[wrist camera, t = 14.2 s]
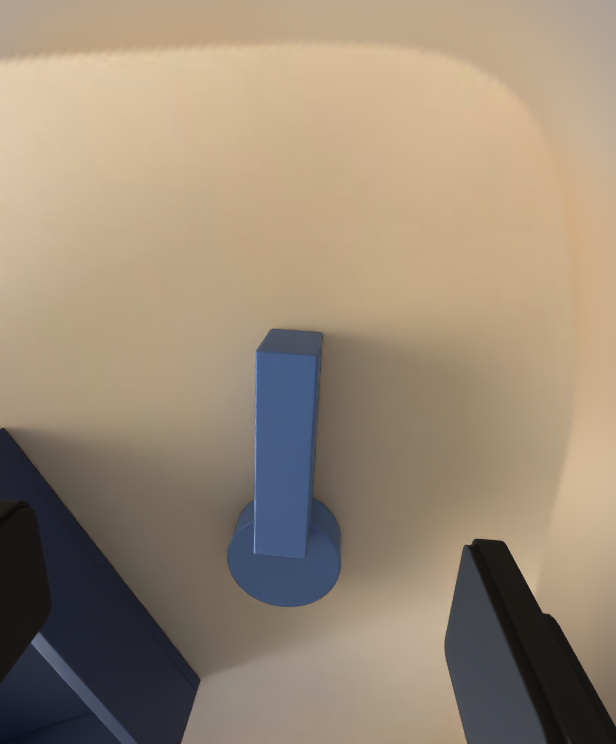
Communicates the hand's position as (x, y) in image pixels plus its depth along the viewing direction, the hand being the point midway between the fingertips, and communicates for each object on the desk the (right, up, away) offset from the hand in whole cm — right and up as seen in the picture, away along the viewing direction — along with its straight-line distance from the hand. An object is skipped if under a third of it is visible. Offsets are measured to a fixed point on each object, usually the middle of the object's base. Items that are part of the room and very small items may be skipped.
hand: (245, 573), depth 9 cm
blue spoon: (+1, +1, +5) cm, 5 cm away
